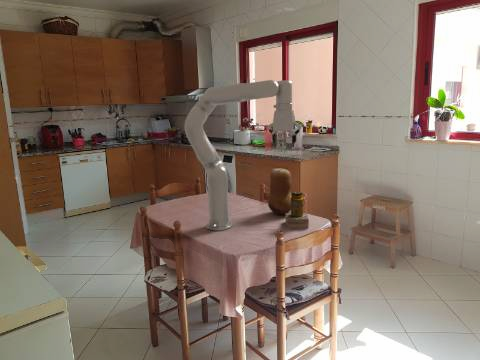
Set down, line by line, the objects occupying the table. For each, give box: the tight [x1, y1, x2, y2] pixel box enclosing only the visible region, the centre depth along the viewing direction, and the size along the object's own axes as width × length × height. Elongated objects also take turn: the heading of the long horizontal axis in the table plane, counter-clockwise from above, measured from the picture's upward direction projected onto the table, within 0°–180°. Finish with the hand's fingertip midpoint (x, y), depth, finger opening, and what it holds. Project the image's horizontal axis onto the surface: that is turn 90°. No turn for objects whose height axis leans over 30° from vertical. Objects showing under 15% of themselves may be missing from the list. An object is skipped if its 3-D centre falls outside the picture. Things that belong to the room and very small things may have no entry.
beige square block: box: [285, 212, 310, 230], centre depth 187 cm, size 10×10×5 cm
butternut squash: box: [267, 168, 292, 216], centre depth 203 cm, size 14×13×25 cm
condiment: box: [285, 190, 307, 219], centre depth 185 cm, size 7×8×12 cm
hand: (284, 143), depth 184 cm, fingers open, 9 cm apart
